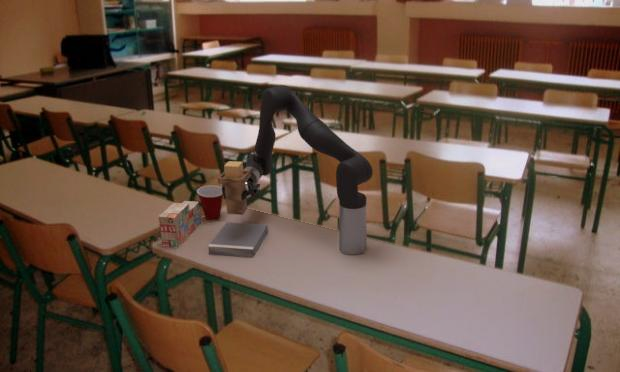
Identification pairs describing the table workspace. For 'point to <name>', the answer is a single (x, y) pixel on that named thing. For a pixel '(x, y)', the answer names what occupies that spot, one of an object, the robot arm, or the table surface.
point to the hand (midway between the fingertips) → (233, 196)
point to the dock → (238, 239)
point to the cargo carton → (234, 170)
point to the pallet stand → (235, 192)
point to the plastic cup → (211, 201)
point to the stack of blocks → (179, 222)
